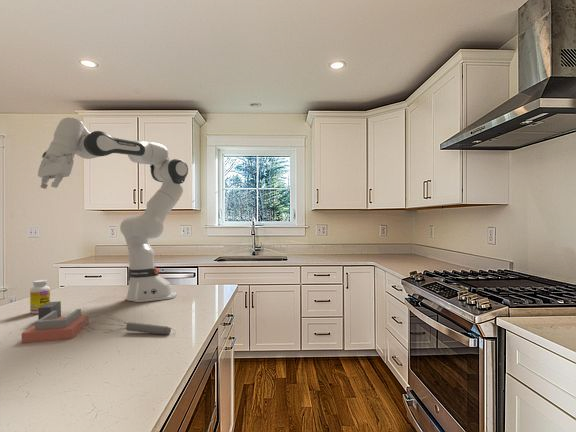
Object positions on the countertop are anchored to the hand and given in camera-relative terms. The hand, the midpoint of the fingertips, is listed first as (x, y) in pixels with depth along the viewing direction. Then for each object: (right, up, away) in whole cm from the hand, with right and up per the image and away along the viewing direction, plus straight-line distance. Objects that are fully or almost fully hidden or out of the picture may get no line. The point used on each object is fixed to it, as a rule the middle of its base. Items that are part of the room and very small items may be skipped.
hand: (48, 187), depth 133 cm
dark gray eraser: (+3, -51, -3) cm, 51 cm away
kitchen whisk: (+39, -50, -18) cm, 66 cm away
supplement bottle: (-9, -51, +9) cm, 52 cm away
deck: (+15, -50, -17) cm, 55 cm away
